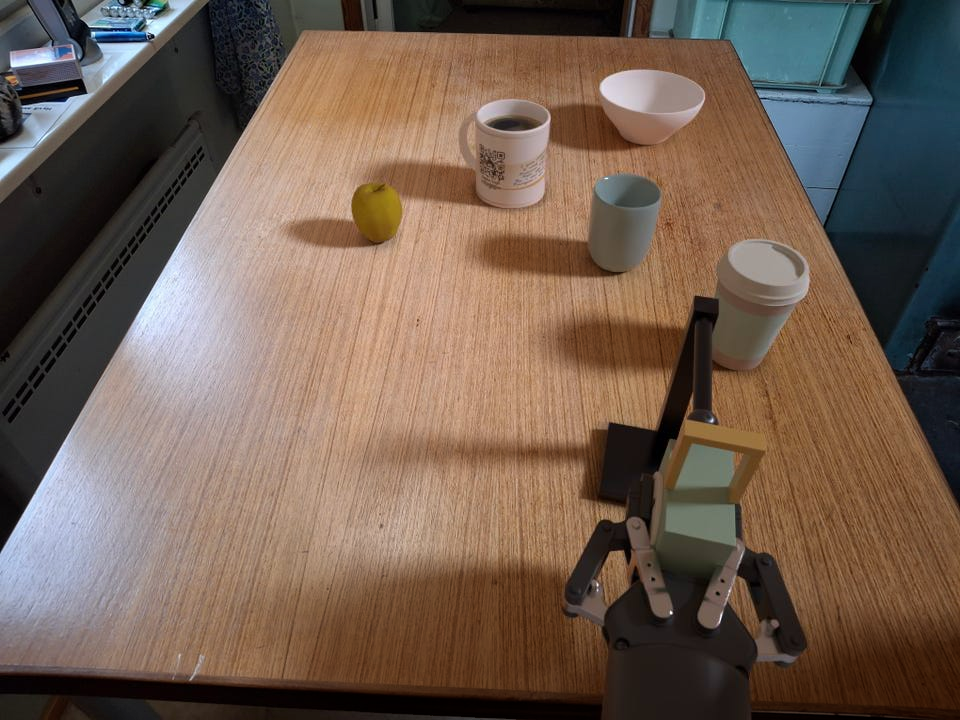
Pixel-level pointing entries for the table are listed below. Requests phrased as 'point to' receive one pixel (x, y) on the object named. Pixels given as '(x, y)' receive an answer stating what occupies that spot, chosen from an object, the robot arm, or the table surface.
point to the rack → (665, 408)
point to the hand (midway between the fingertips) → (682, 489)
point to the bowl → (649, 103)
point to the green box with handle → (700, 497)
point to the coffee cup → (755, 299)
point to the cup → (622, 220)
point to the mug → (508, 152)
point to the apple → (376, 211)
